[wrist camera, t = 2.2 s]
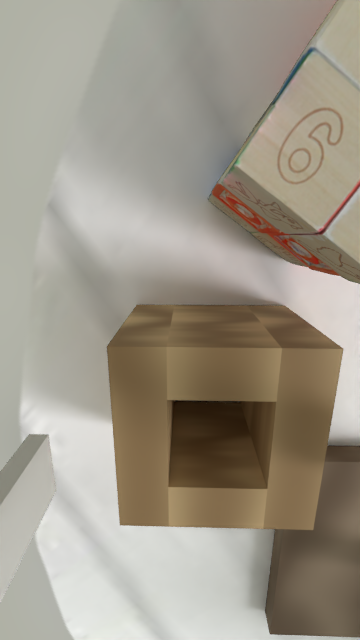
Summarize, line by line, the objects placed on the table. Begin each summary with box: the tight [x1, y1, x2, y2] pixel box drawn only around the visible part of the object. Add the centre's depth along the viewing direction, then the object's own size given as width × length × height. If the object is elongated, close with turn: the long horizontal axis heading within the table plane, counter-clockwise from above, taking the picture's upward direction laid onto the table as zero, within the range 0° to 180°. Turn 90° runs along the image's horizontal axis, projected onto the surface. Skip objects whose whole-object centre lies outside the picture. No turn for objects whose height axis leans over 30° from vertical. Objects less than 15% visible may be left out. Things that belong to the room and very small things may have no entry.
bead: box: [107, 305, 343, 530], centre depth 16 cm, size 9×9×7 cm
